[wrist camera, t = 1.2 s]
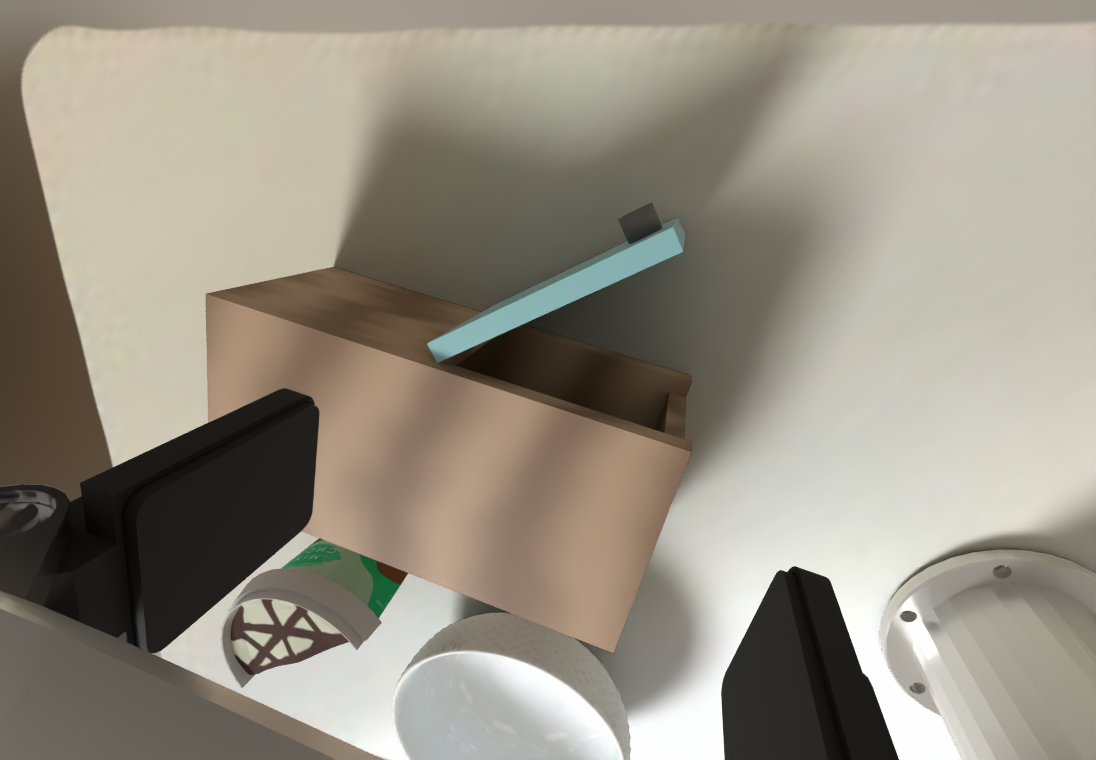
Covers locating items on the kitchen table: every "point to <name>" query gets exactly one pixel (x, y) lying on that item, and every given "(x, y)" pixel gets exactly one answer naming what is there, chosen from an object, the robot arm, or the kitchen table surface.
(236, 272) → the kitchen table surface
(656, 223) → the door
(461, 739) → the cereal bowl
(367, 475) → the cabinet
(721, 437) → the kitchen table surface
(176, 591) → the robot arm
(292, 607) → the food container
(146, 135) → the kitchen table surface
